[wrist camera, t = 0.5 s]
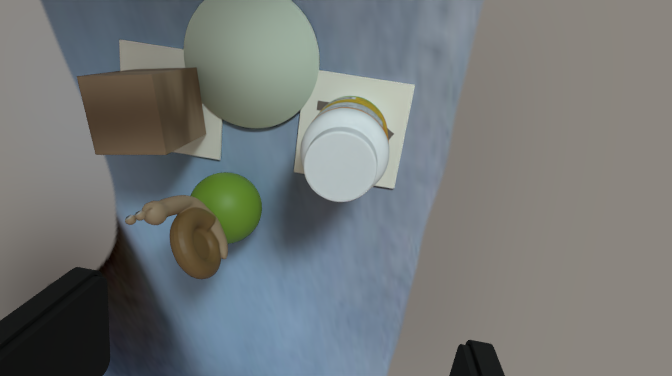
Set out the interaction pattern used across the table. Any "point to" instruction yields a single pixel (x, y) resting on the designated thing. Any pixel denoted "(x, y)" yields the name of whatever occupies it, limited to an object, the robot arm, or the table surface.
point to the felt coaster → (252, 59)
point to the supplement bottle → (345, 149)
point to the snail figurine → (206, 221)
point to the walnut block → (143, 110)
